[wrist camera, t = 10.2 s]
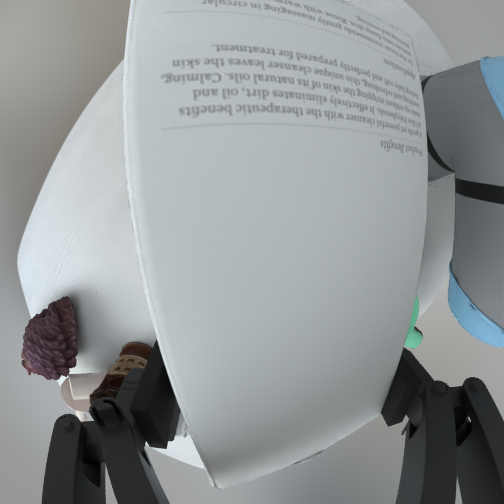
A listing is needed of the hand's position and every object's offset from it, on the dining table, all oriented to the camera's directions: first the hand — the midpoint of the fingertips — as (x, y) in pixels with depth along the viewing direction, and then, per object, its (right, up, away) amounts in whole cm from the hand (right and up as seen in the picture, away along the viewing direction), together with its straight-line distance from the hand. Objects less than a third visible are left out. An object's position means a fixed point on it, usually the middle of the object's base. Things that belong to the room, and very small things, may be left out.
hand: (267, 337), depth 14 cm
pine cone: (-33, -8, +21) cm, 40 cm away
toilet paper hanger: (-31, -20, +24) cm, 44 cm away
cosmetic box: (0, +12, -8) cm, 14 cm away
